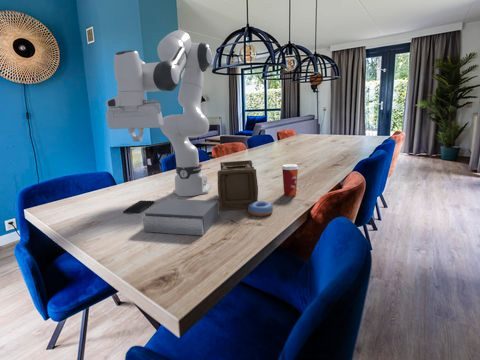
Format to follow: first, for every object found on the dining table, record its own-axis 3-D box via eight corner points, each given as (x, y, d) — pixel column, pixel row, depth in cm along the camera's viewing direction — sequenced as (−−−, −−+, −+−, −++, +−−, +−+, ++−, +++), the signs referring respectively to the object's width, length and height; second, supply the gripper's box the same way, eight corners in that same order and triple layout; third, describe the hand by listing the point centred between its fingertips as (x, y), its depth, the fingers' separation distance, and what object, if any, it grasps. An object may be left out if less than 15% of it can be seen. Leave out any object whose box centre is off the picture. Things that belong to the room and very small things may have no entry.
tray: (165, 215, 118) (164, 202, 116) (217, 218, 113) (216, 204, 111) (144, 232, 103) (142, 216, 102) (202, 235, 98) (201, 220, 96)
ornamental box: (223, 192, 155) (216, 159, 151) (256, 186, 155) (250, 152, 151) (220, 215, 121) (211, 172, 117) (262, 207, 121) (255, 164, 117)
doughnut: (270, 217, 110) (269, 206, 110) (245, 217, 114) (244, 205, 113) (275, 211, 120) (275, 200, 119) (252, 210, 123) (251, 200, 122)
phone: (155, 200, 136) (138, 212, 122) (155, 203, 136) (139, 214, 122) (139, 200, 137) (121, 211, 123) (140, 202, 138) (122, 214, 123)
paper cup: (297, 197, 134) (297, 167, 130) (280, 196, 136) (280, 166, 133) (299, 192, 141) (299, 163, 137) (283, 191, 143) (283, 163, 140)
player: (168, 214, 120) (166, 198, 118) (219, 216, 115) (218, 200, 113) (147, 230, 105) (144, 213, 103) (204, 233, 100) (203, 215, 98)
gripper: (164, 99, 101) (168, 139, 104) (113, 102, 106) (118, 140, 109) (154, 99, 95) (159, 142, 98) (101, 102, 100) (107, 142, 103)
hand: (137, 141), depth 104 cm, fingers closed
